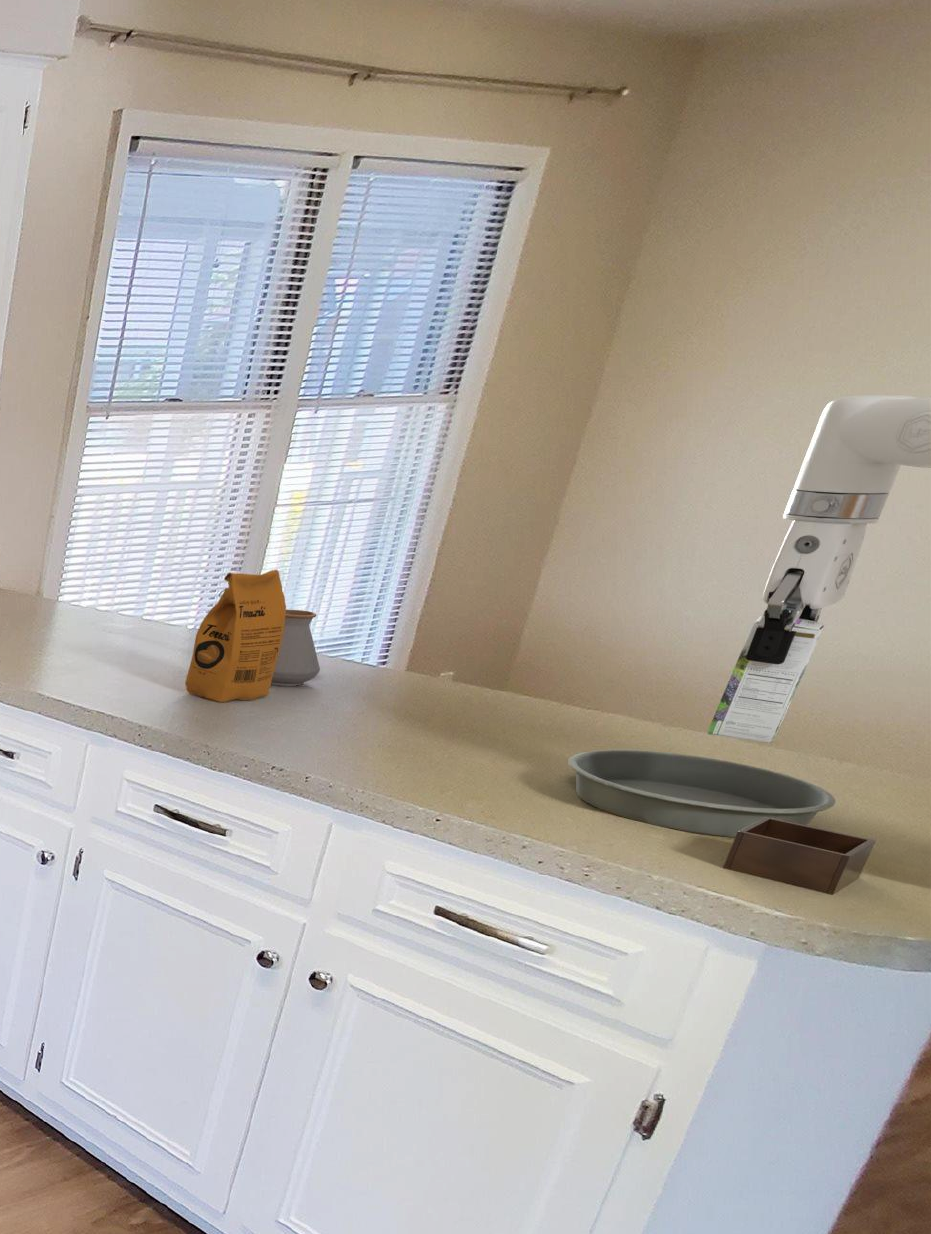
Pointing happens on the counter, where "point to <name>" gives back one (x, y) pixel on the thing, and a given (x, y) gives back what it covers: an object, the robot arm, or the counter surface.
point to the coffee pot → (296, 651)
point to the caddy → (799, 855)
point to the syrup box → (763, 688)
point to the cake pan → (692, 791)
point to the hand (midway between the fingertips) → (774, 657)
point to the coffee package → (239, 640)
